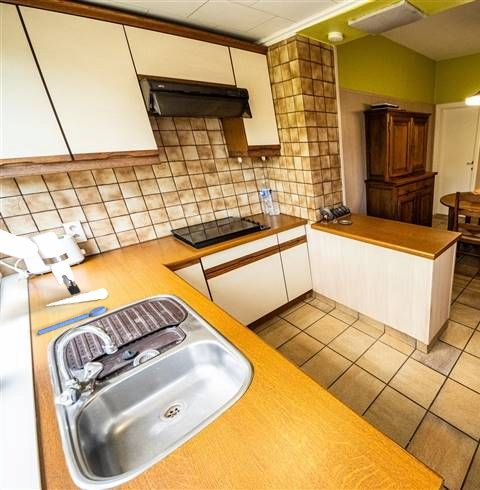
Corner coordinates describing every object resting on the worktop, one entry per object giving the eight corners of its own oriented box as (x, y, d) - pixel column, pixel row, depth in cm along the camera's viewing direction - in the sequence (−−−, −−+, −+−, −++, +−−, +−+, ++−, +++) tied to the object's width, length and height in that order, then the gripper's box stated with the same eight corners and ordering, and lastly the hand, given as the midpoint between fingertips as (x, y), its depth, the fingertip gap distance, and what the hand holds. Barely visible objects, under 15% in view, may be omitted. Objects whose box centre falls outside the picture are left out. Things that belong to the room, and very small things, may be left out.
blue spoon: (38, 336, 101) (36, 333, 101) (40, 330, 104) (38, 328, 104) (106, 311, 114) (105, 309, 113) (105, 307, 117) (104, 304, 117)
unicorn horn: (53, 301, 123) (47, 293, 122) (109, 294, 127) (105, 286, 125) (43, 307, 119) (37, 299, 117) (102, 300, 122) (97, 291, 120)
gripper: (44, 257, 121) (65, 291, 128) (42, 266, 111) (64, 303, 118) (67, 251, 126) (86, 284, 133) (67, 260, 116) (87, 295, 123)
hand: (76, 293), depth 126 cm, fingers closed
